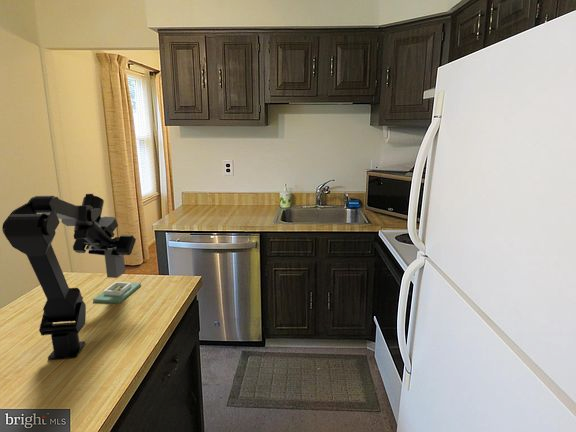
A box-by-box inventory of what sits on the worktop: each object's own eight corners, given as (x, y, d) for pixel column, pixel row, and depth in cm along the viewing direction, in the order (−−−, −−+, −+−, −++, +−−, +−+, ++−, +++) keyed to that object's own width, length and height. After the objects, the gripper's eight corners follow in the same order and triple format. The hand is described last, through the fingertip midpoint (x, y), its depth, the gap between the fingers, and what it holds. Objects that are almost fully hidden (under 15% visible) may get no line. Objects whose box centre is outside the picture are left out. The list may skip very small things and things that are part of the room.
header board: (119, 303, 116) (118, 296, 115) (93, 301, 116) (92, 294, 116) (140, 285, 129) (140, 279, 128) (117, 284, 130) (116, 277, 129)
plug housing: (117, 277, 119) (113, 243, 116) (107, 277, 119) (103, 243, 116) (125, 272, 123) (121, 239, 121) (115, 271, 124) (112, 238, 121)
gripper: (130, 211, 111) (149, 235, 124) (74, 209, 113) (99, 233, 126) (118, 243, 105) (140, 264, 118) (59, 240, 107) (87, 262, 120)
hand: (116, 255), depth 121 cm, fingers closed on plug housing, 3 cm apart
